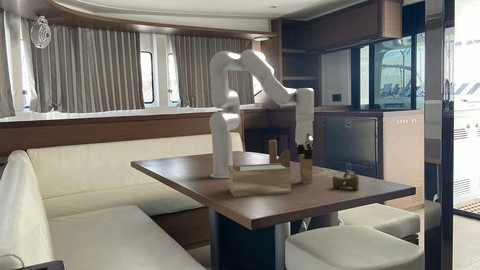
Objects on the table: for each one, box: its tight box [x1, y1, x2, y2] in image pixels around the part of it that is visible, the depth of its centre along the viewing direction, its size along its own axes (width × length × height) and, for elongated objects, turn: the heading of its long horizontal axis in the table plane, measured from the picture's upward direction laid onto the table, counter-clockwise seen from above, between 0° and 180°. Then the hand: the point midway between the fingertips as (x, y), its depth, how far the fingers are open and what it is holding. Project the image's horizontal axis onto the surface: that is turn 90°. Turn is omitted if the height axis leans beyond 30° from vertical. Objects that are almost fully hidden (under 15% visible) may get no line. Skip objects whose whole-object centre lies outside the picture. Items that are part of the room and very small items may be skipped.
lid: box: [230, 162, 285, 171], centre depth 144 cm, size 11×21×3 cm, turn 99°
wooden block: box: [268, 139, 291, 169], centre depth 164 cm, size 4×11×18 cm, turn 40°
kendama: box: [332, 170, 360, 191], centre depth 147 cm, size 6×10×20 cm
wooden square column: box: [298, 154, 314, 185], centre depth 158 cm, size 5×5×12 cm
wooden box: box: [228, 163, 292, 198], centre depth 144 cm, size 14×22×10 cm, turn 99°
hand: (304, 157), depth 158 cm, fingers open, 9 cm apart
